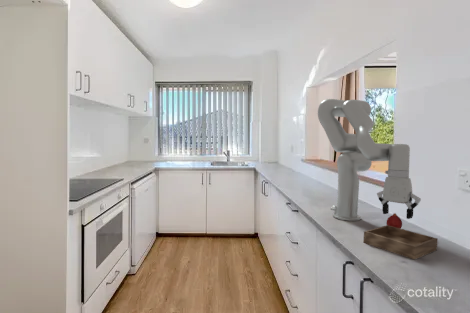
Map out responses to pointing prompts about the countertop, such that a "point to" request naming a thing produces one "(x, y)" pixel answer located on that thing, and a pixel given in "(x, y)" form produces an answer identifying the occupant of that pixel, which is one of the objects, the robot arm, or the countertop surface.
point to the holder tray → (401, 241)
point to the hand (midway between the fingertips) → (397, 215)
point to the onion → (394, 221)
